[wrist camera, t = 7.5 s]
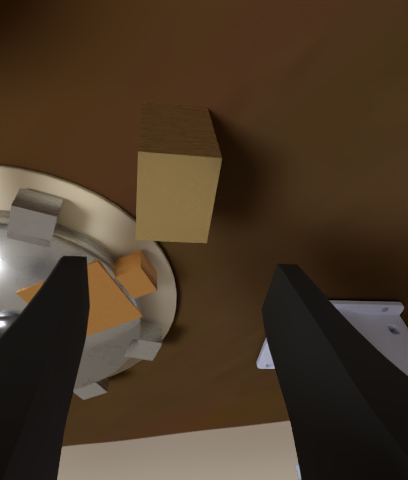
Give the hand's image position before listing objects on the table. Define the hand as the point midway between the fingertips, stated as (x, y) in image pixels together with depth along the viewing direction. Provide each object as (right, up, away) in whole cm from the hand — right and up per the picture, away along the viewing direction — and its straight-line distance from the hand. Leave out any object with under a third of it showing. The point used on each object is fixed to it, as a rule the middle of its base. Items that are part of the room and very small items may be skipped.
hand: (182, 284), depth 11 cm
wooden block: (-1, +6, +7) cm, 10 cm away
